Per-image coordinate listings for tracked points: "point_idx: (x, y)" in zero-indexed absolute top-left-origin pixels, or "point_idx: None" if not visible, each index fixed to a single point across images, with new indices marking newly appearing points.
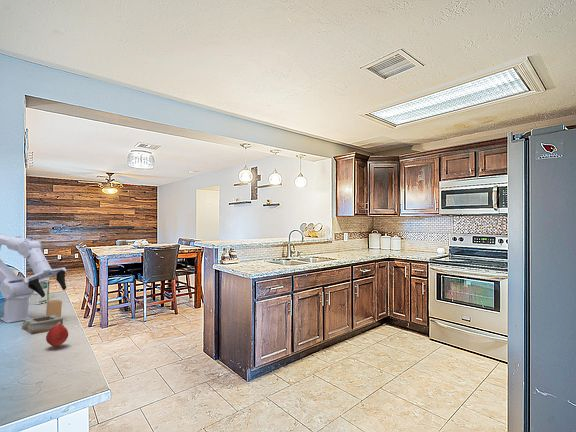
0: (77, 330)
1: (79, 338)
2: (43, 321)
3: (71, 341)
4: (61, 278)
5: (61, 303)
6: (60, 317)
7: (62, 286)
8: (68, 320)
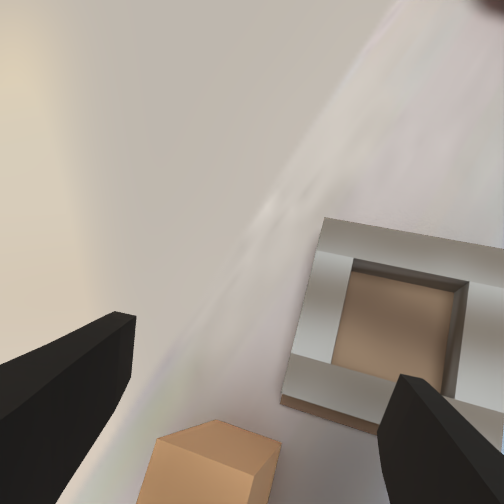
0: (317, 136)
1: (391, 28)
2: (436, 257)
3: (435, 17)
4: (12, 404)
5: (169, 436)
6: (212, 421)
7: (108, 386)
8: (201, 364)
